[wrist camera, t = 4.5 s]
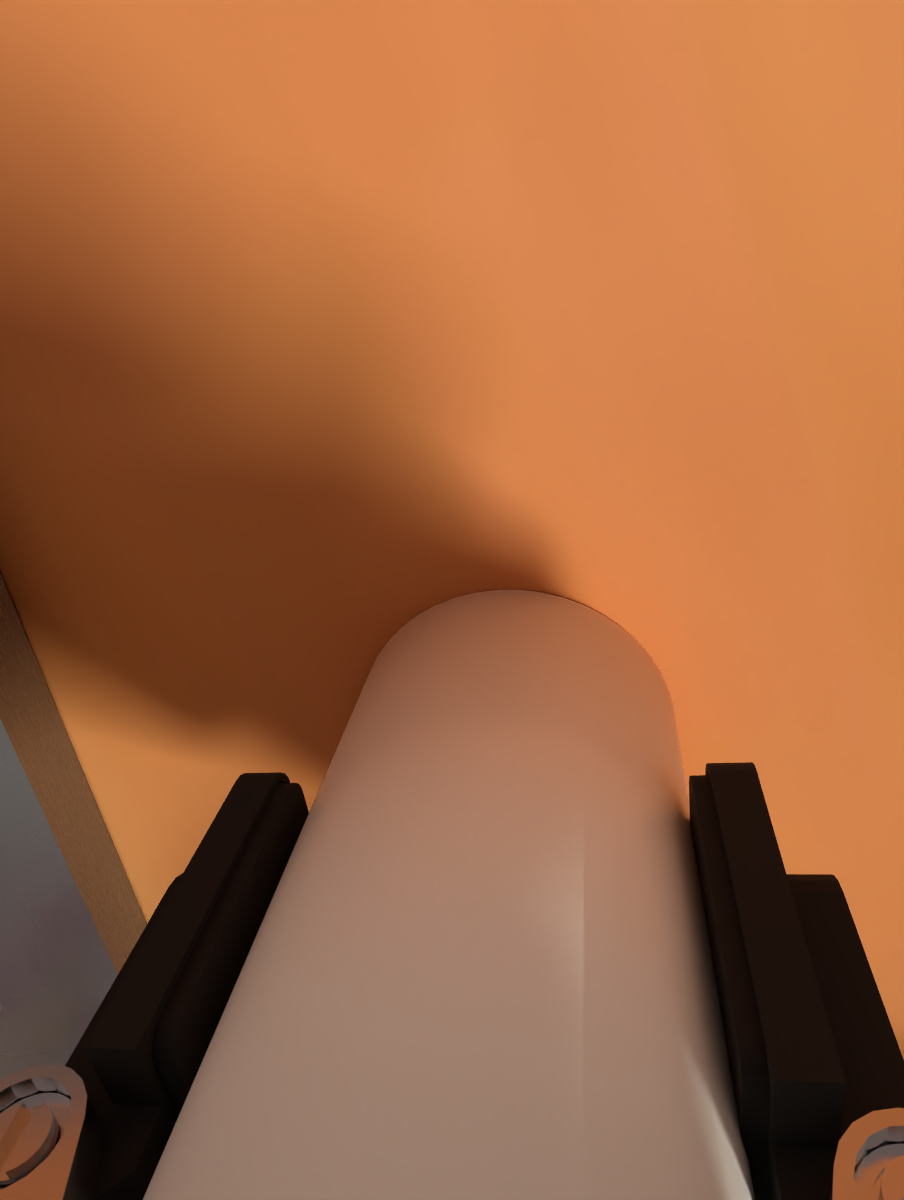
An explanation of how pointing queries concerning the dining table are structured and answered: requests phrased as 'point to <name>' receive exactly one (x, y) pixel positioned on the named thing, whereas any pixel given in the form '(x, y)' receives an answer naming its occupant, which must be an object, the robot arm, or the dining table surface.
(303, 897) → the round-ended cylinder
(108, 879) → the square plate with ring
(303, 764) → the dining table surface
